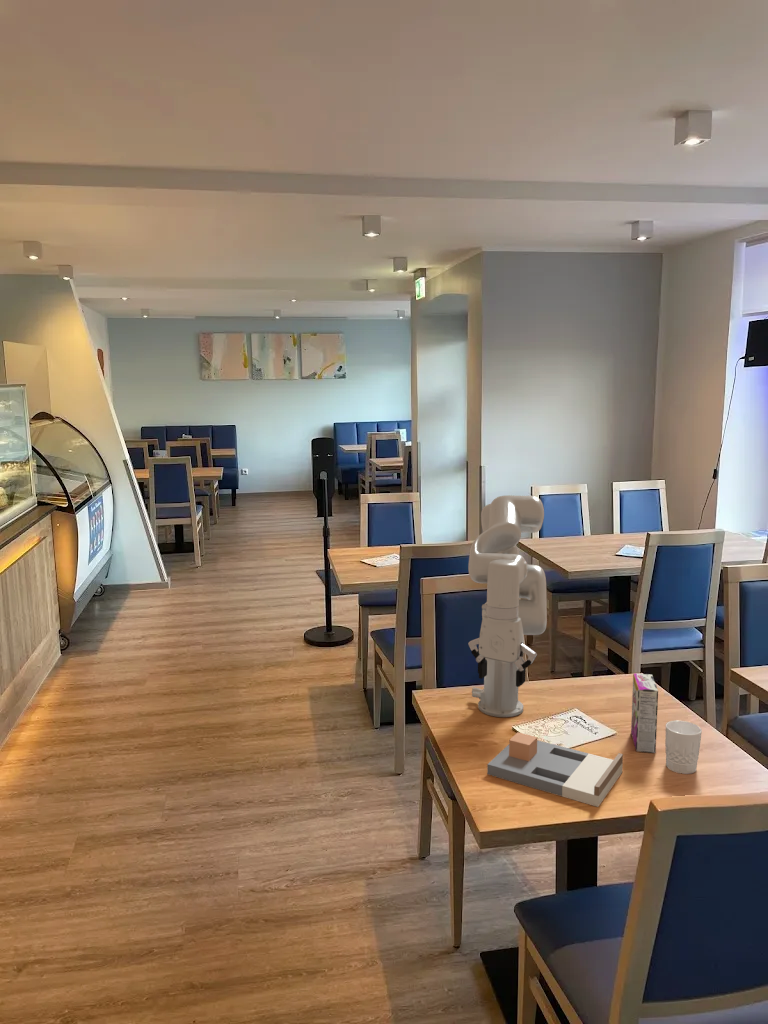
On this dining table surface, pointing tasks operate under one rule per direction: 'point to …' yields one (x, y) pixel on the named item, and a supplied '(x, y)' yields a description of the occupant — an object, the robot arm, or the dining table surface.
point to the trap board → (560, 772)
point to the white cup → (682, 746)
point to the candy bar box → (644, 713)
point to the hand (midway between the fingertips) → (501, 681)
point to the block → (523, 746)
